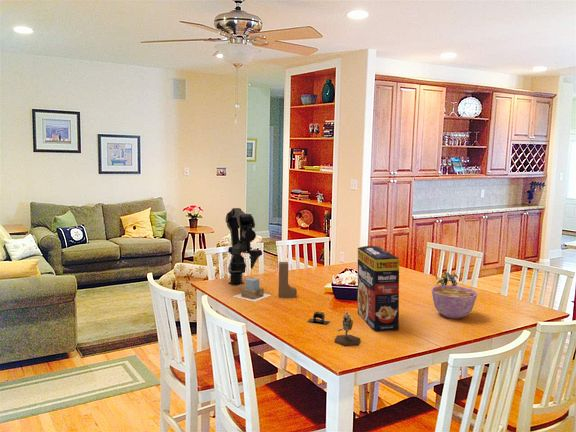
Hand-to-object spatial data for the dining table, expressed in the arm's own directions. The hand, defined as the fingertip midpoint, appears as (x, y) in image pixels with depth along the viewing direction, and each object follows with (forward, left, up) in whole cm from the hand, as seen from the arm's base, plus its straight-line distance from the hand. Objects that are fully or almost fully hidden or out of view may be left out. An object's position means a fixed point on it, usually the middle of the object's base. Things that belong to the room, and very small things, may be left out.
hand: (244, 267), depth 262 cm
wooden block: (-5, +24, -13) cm, 28 cm away
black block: (+18, +56, -14) cm, 61 cm away
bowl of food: (-27, +101, -13) cm, 105 cm away
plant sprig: (-75, +84, -13) cm, 113 cm away
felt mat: (+5, +9, -13) cm, 17 cm away
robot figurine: (+31, +77, -13) cm, 84 cm away
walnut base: (+6, +10, -13) cm, 17 cm away
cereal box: (+2, +76, -13) cm, 77 cm away
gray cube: (+6, +10, -9) cm, 14 cm away
